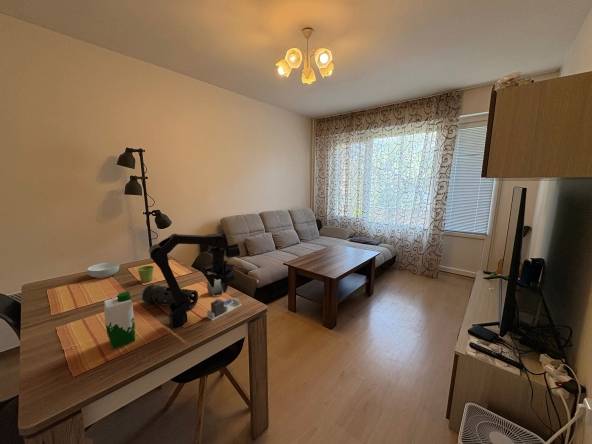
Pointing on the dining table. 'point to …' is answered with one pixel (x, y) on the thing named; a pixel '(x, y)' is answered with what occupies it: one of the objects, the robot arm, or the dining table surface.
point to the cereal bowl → (103, 270)
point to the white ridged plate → (225, 308)
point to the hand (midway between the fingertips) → (218, 289)
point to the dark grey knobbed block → (217, 307)
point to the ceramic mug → (215, 288)
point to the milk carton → (119, 320)
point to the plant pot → (145, 273)
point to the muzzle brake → (164, 295)
